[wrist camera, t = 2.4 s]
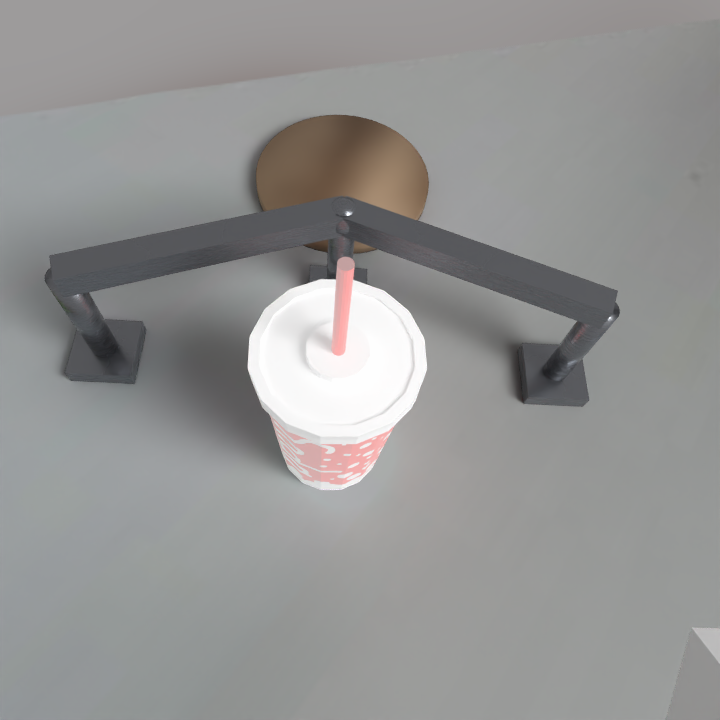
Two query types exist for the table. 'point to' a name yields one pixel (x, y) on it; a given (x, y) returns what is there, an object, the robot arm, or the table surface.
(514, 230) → the table surface
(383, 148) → the walnut pad
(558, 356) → the bent rail
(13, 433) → the table surface
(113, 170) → the table surface
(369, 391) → the beverage cup
